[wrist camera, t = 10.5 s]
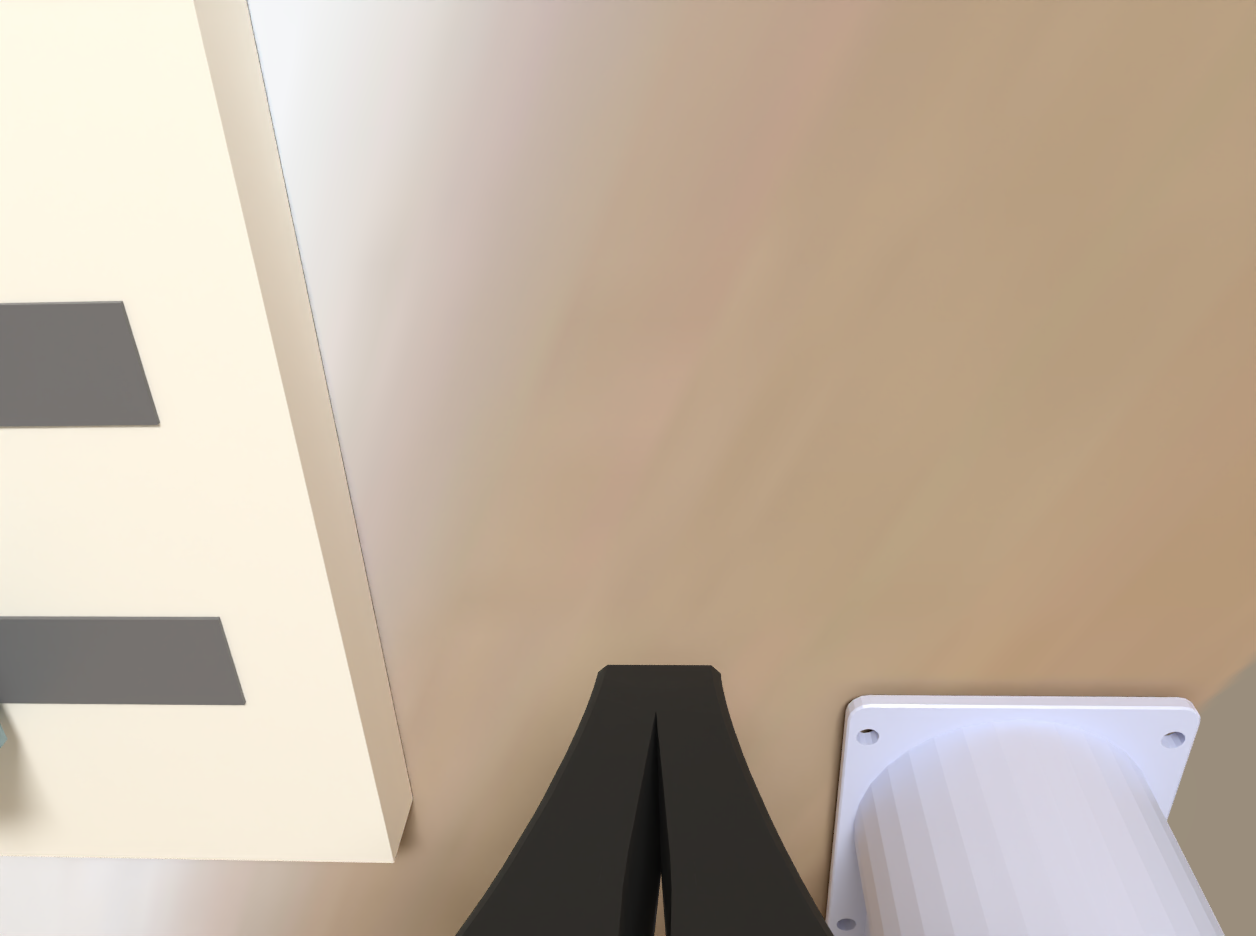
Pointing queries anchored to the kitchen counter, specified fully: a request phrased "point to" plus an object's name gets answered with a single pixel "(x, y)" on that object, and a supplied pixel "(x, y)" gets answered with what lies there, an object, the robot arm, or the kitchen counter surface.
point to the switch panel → (171, 466)
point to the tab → (2, 736)
